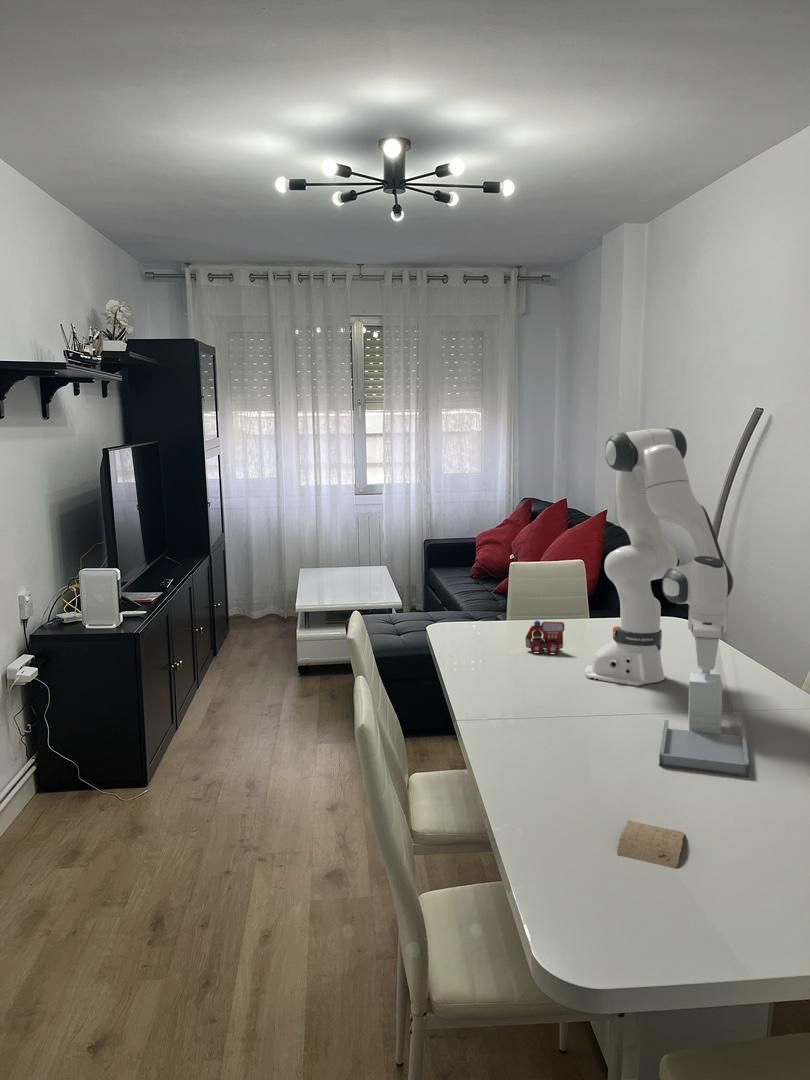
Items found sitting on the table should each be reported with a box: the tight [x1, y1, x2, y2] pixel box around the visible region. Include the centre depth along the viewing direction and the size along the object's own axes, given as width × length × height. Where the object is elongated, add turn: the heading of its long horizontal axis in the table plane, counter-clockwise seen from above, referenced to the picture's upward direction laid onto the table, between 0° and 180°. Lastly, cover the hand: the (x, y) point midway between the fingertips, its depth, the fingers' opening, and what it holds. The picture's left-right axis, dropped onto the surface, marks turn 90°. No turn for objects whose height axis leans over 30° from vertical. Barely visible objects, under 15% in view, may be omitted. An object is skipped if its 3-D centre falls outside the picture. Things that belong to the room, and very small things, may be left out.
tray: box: [658, 719, 750, 778], centre depth 177 cm, size 18×22×2 cm
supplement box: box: [687, 672, 724, 734], centre depth 190 cm, size 7×7×13 cm
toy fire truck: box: [525, 620, 565, 654], centre depth 258 cm, size 7×12×10 cm, turn 75°
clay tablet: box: [616, 819, 686, 869], centre depth 138 cm, size 14×10×3 cm
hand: (705, 677), depth 198 cm, fingers closed
